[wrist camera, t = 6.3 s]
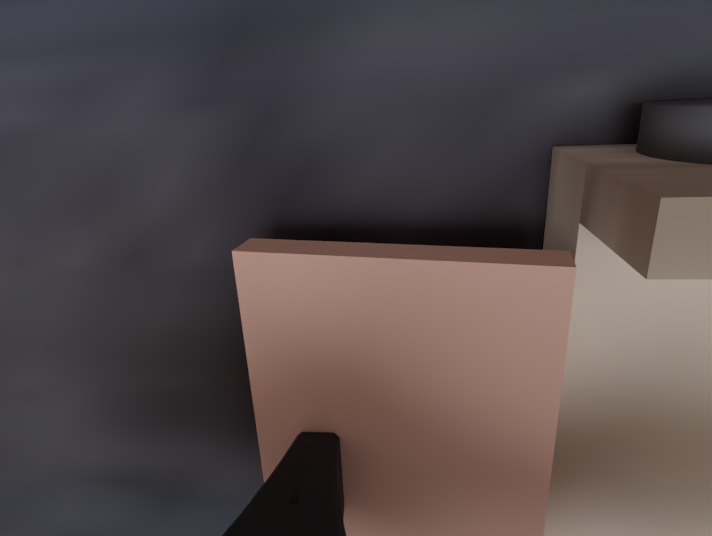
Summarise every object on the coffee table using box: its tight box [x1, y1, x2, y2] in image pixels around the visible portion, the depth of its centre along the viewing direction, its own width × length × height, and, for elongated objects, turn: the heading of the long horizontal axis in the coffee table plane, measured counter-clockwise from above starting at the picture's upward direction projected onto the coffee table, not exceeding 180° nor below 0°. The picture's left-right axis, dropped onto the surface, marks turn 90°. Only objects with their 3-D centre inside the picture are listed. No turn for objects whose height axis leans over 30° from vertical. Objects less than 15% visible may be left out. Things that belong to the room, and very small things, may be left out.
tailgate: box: [232, 238, 577, 536], centre depth 11 cm, size 1×10×6 cm
